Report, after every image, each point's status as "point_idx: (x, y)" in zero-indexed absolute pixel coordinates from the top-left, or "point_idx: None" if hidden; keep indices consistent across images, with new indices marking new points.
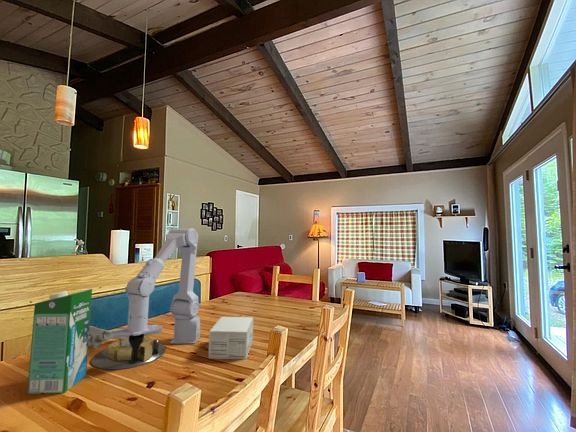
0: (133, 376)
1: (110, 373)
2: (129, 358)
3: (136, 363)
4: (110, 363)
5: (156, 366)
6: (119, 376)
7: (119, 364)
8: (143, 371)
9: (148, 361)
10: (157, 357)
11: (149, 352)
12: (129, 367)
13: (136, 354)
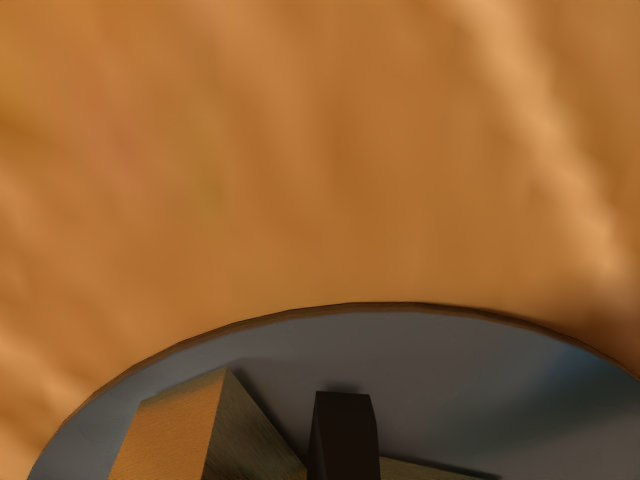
0: (378, 5)
1: (621, 261)
2: (395, 475)
3: (320, 359)
4: (576, 464)
5: (59, 200)
6: (553, 115)
7: (500, 411)
8: (233, 119)
9: (175, 355)
10: (74, 417)
11: (137, 472)
12: (404, 306)
13: (332, 453)
